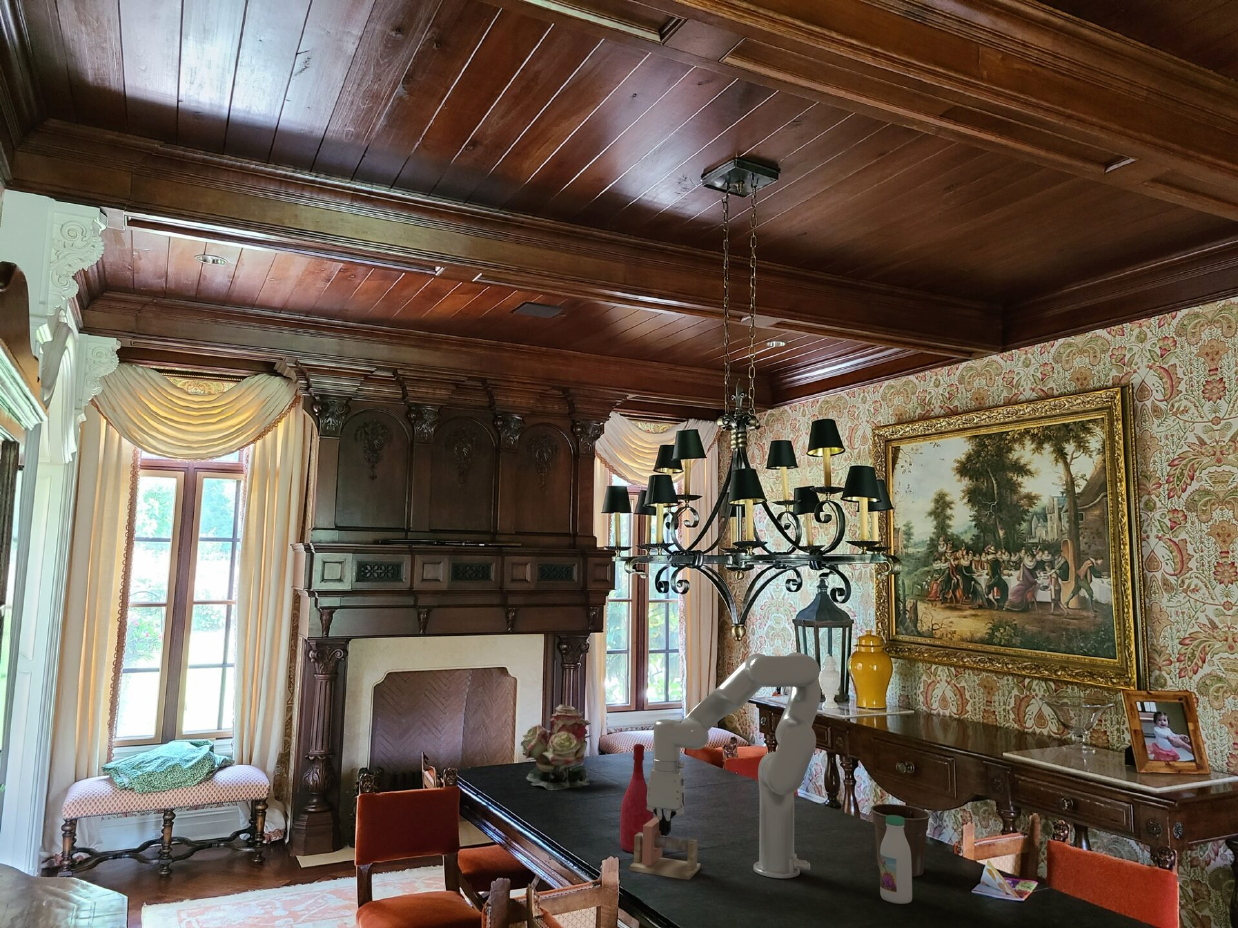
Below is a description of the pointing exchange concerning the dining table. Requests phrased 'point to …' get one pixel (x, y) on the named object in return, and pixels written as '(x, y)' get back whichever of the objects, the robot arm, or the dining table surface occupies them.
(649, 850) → the collar
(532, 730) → the rose bouquet
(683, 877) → the rail stand
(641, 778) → the wine bottle
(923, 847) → the plant pot
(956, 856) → the dining table surface
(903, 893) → the milk bottle
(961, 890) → the dining table surface
